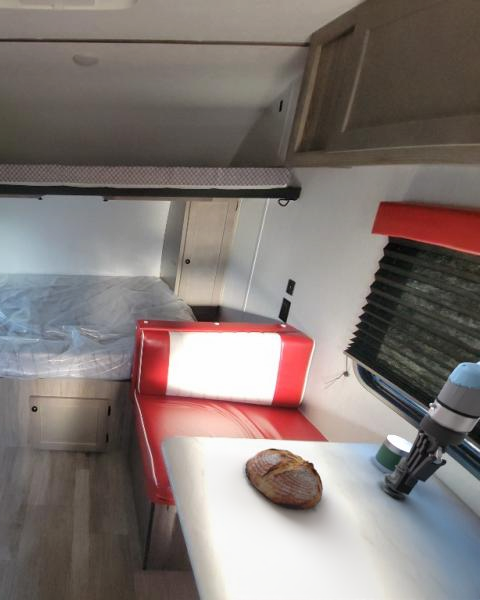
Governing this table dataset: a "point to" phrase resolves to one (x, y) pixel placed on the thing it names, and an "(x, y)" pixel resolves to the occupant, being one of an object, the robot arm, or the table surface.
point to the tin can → (391, 453)
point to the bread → (285, 478)
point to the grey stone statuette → (395, 480)
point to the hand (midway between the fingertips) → (401, 490)
